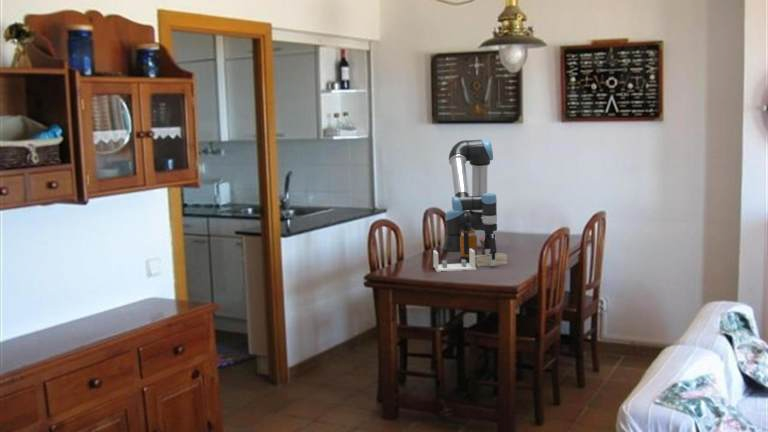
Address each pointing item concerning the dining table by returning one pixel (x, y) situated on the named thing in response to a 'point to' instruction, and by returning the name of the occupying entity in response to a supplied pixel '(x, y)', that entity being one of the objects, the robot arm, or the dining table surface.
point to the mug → (483, 245)
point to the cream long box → (485, 259)
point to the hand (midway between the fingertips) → (490, 263)
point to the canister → (468, 241)
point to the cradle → (455, 267)
